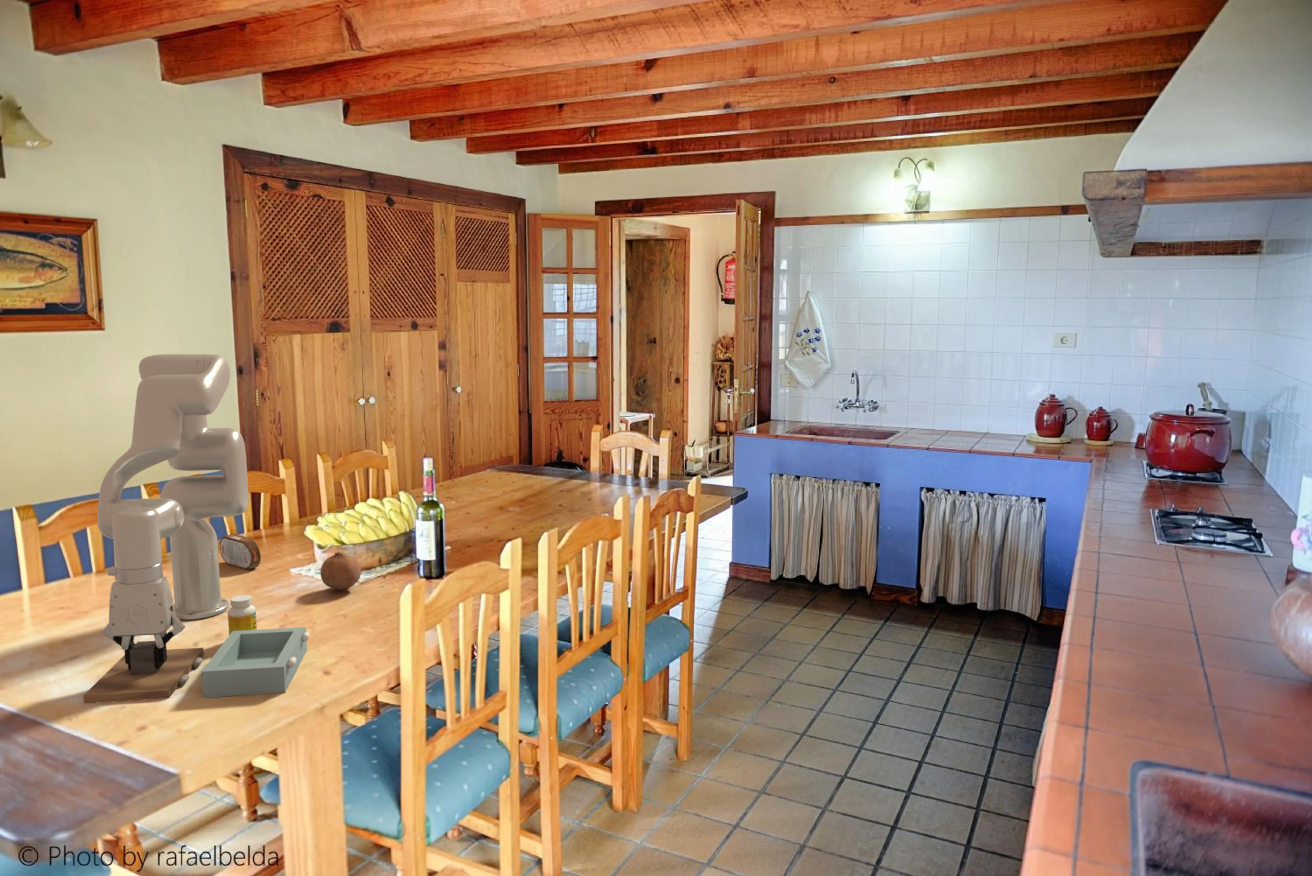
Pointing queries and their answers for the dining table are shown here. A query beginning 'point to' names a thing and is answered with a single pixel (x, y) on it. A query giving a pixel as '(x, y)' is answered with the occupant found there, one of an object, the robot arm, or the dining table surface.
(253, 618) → the supplement bottle
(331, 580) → the onion
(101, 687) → the door
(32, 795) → the dining table surface
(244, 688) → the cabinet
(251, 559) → the tin
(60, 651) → the dining table surface
